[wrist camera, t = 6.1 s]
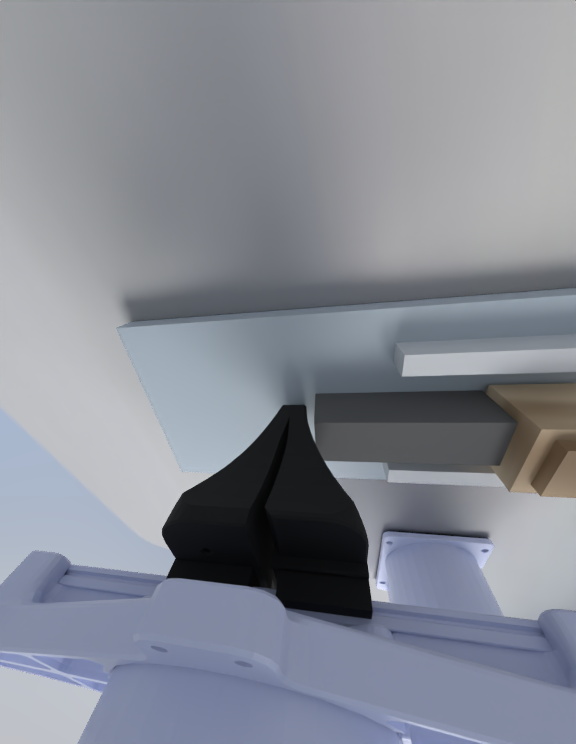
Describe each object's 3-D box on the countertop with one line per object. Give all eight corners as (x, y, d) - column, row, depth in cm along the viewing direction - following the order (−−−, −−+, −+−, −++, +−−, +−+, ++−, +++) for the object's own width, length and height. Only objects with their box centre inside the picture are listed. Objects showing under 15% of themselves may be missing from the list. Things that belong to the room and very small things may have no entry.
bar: (469, 428, 12) (499, 465, 10) (317, 428, 14) (316, 460, 12) (481, 390, 11) (518, 422, 9) (315, 393, 13) (314, 422, 11)
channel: (623, 471, 14) (738, 558, 10) (189, 458, 18) (154, 514, 15) (786, 271, 9) (1144, 291, 5) (132, 321, 13) (55, 352, 10)
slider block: (558, 441, 12) (642, 509, 9) (470, 440, 12) (518, 503, 9) (592, 383, 10) (707, 441, 7) (488, 385, 11) (554, 439, 8)
